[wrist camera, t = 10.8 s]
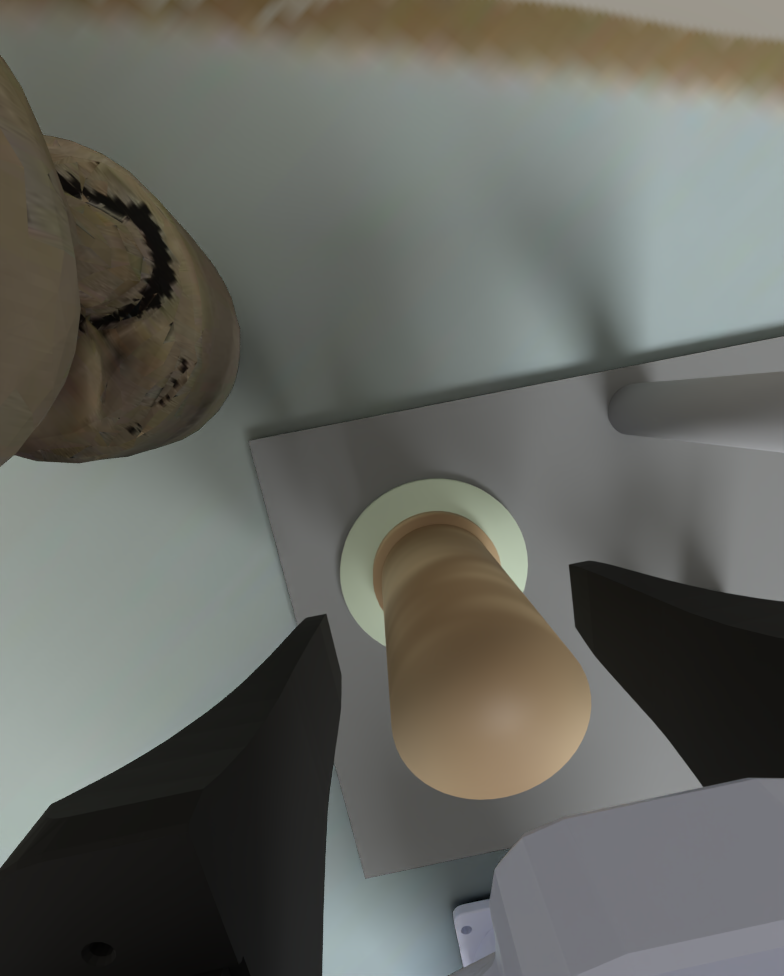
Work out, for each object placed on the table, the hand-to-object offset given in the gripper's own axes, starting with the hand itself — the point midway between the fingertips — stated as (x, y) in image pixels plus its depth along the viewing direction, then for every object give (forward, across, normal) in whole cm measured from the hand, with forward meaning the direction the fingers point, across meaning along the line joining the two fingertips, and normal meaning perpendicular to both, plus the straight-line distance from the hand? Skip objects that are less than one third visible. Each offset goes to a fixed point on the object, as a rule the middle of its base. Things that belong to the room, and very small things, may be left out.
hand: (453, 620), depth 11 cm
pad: (+4, 0, 0) cm, 4 cm away
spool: (+3, 0, 0) cm, 3 cm away
